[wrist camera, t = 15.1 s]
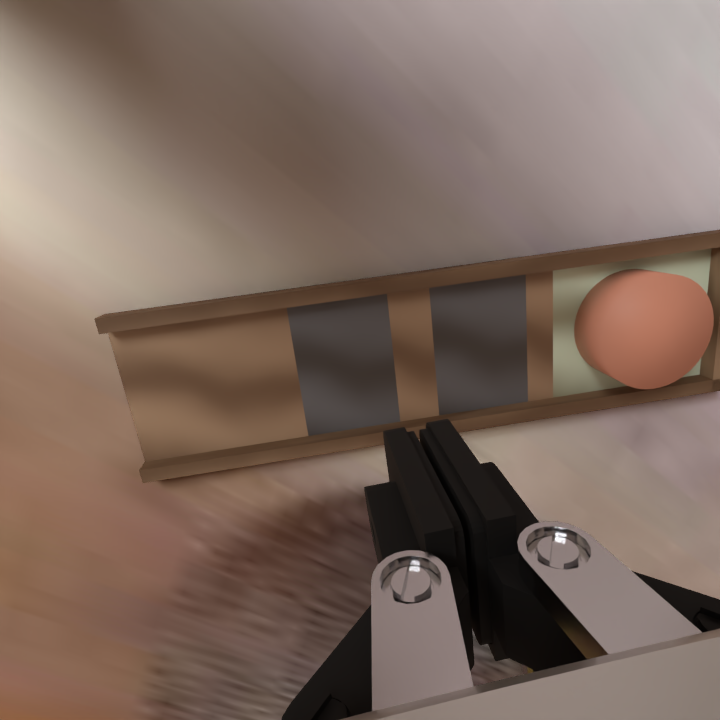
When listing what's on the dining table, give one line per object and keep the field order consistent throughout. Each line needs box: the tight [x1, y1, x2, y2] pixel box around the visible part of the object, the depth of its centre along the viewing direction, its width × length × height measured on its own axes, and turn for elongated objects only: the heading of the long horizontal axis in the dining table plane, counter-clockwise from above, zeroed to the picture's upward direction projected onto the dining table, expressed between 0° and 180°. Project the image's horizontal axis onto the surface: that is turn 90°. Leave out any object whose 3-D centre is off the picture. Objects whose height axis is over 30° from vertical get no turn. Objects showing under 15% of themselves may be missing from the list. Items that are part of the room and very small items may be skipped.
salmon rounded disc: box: [574, 269, 714, 389], centre depth 34 cm, size 8×8×4 cm
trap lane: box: [95, 230, 720, 483], centre depth 34 cm, size 12×44×2 cm, turn 97°
